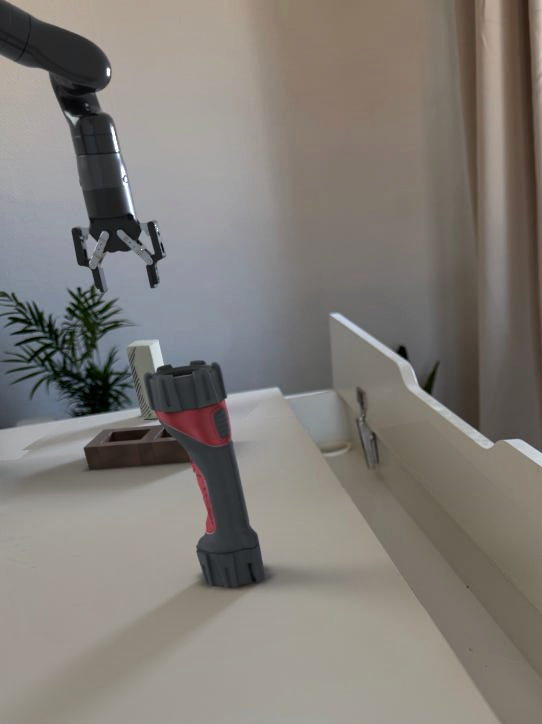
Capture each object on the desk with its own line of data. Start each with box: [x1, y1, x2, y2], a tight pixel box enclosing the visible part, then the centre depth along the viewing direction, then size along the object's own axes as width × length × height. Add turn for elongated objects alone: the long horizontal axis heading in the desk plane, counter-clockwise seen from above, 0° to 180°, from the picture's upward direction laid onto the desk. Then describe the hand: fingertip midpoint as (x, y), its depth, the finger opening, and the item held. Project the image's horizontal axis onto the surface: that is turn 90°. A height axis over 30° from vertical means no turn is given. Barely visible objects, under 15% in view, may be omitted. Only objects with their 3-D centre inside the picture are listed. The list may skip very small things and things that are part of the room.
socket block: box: [82, 424, 193, 471], centre depth 149 cm, size 18×10×4 cm, turn 92°
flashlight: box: [143, 359, 267, 589], centre depth 101 cm, size 8×8×23 cm
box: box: [125, 339, 165, 420], centre depth 172 cm, size 5×4×13 cm
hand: (129, 289), depth 166 cm, fingers open, 8 cm apart
